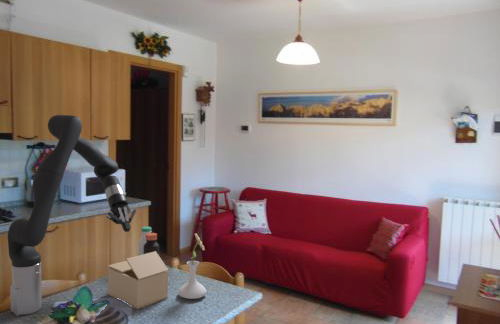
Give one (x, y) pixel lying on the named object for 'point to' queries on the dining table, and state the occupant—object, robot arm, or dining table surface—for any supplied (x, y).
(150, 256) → the front flap
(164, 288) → the carton
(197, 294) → the flower in vase
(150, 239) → the vinegar
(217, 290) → the dining table surface
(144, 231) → the milk bottle
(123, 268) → the back flap
